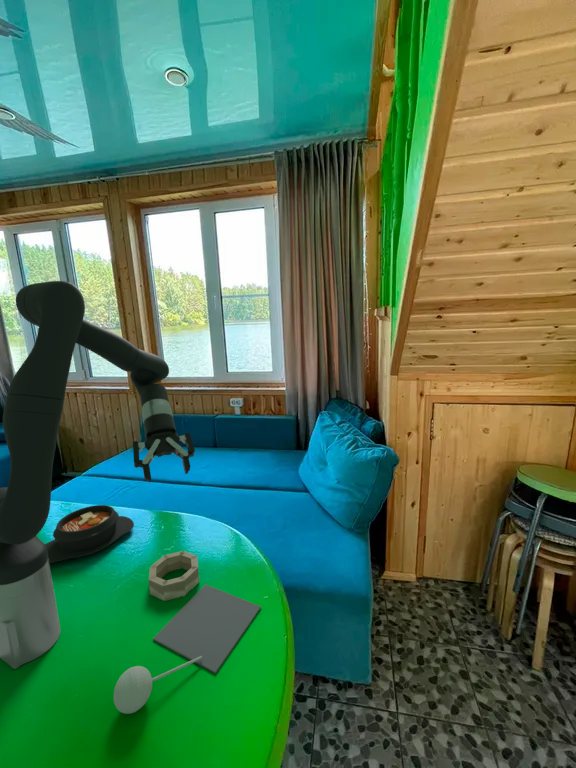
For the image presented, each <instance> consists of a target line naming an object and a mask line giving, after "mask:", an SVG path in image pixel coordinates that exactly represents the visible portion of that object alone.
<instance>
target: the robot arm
mask: <svg viewBox="0 0 576 768" xmlns="http://www.w3.org/2000/svg"><path fill="white" fill-rule="evenodd" d="M15 297H16V298H15V305H16V309H17V311H18V312H19V314H20V315H21V317H22V318H24V319H25V320H26V321H27V322H28V323H30V324H32V325H34V326H36V327H38V330H37V335H36V338H35V342H34V345H33V347H32V349H31V351H30V353H29V354H28V355H27V357H26V359H25V360H24V361H23V362H22V364H21V366H20V367H19V368H18V369H17V371H16V372H15V374H14V376H13V378H12V379H11V381H10V384H9V386H8V390H7V392H6V393H7V395H6V398H5V402H4V408H3V413H2V429H3V432H4V437H5V441H6V446H7V449H8V452H9V457H10V473H9V479H8V483H7V487H5V486H4V487H0V659H1V660H2V661H4V662H5V663H6V664H7V665H9V667H11V668H12V669H13V670H17V669H18V668H19V667H20V666H22V665H24V664H27V663H29V662H32V661H34V660H35V659H38V658H40V657H41V656H42V655H44V654H45V653H47V652H48V651H49V650H50V649H51V648H52V647H53V646H54V645H55V643H57V641H58V639H59V637H60V634H61V625H60V619H59V614H58V607H57V601H56V596H55V595H56V594H55V590H54V589H55V588H54V583H53V578H52V572H51V565H50V563H49V559H48V552H47V548H46V545H45V544H46V543H44V542H43V541H42V540H41V539H40V538H39V537H38V535H39V533H40V532H41V531H42V530H43V528H44V526H45V525H46V523H47V520H48V517H49V515H50V509H51V499H52V480H53V467H54V459H55V454H56V453H55V452H56V448H57V447H56V446H57V440H58V434H59V427H60V424H61V418H62V416H63V415H62V414H63V411H64V410H63V408H64V404H65V398H66V391H67V384H68V379H69V374H70V369H71V364H72V358H73V354H74V351H75V348H76V345H77V344H78V345H79V346H81V347H82V348H85V349H87V350H88V351H91V352H92V353H94V354H96V355H98V357H101V358H102V359H104V360H106V361H107V362H109V363H110V364H112V365H114V366H115V367H117V368H119V369H120V370H122V371H123V372H127V373H130V376H129V377H130V380H131V382H132V383H133V385H134V387H135V389H136V391H137V393H138V395H139V397H140V403H141V404H140V405H141V416H142V417H141V418H142V423H143V430H144V436H145V440H144V441H141V442H139V441H137V440H135V441H133V442H132V451H133V452H132V453H133V467H134V468H136V469H137V468H142V473H143V478H144V480H145V481H147V483H151V482H152V475H151V474H152V473H151V469H150V468H151V467H150V464H151V462H152V461H154V458H155V457H158V458H159V457H164V456H171V455H172V454H174V455H175V456H176V457H179V458H180V459H182V460H181V461H182V466H183V471H184V475H188V474H189V472H190V471H191V463H190V458H192V457H195V452H196V449H195V445H194V443H193V440H192V439H193V438H192V436H191V434H190V432H186V433H185V434H184V435H179V434H178V432H177V429H176V425H175V419H174V414H173V411H172V407H171V405H170V400H169V396H168V391H167V388H166V387H165V386H164V385H163V384H160V383H159V382H161V381H163V380H165V379H166V378H167V377H168V376H169V374H170V367H169V365H168V363H167V362H166V361H165V359H163V358H162V357H160V356H159V355H156V354H154V353H152V352H151V353H150V352H148V351H145V350H143V349H139V348H138V347H136V346H135V345H134V344H132V343H131V342H130V341H128V340H127V339H126V338H124V337H122V336H121V335H119V334H117V333H115V332H112V331H110V330H108V329H106V328H103V327H101V326H98V325H97V324H94V323H92V322H90V321H88V320H86V319H85V318H84V317H85V311H86V303H85V299H84V296H83V293H82V292H81V291H80V288H78V287H77V286H76V285H75V284H74V283H71V282H69V281H65V280H49V281H45V282H44V281H43V282H37V283H30V284H28V285H26V286H22V287H21V288H20V290H18V292H17V294H16V296H15ZM180 442H182V443H183V444H185V445H186V448H187V450H185V449H184V448H182V447H183V446H181V445H180V444H179V443H180ZM144 448H145V449H146V451H147V450H148V452H146V455H145V457H144V458H143V459H140V452H142V451H143V449H144Z"/></svg>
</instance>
